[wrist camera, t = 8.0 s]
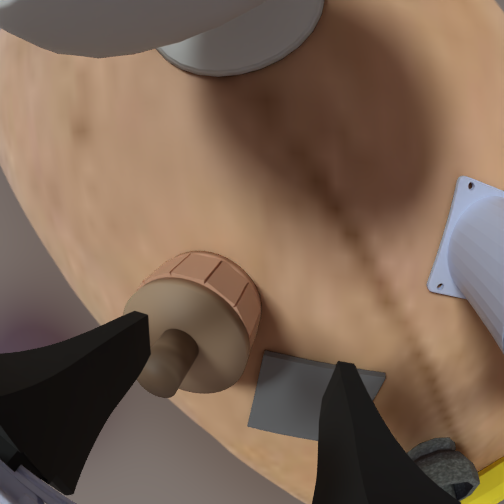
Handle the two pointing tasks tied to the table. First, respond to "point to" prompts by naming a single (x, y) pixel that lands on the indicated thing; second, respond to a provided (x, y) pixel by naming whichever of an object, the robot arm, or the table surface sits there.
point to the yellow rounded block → (489, 485)
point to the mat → (296, 394)
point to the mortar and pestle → (446, 467)
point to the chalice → (168, 29)
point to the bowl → (217, 283)
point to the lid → (189, 338)
